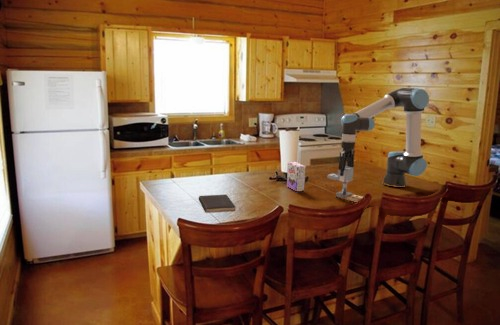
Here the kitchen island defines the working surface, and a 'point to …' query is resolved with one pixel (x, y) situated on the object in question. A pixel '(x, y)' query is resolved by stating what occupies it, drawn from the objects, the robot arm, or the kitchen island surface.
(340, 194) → the gray block on stand
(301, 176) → the candy box
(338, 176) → the grey l-shaped block
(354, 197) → the frame leaf
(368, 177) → the kitchen island surface
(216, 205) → the hardcover book
